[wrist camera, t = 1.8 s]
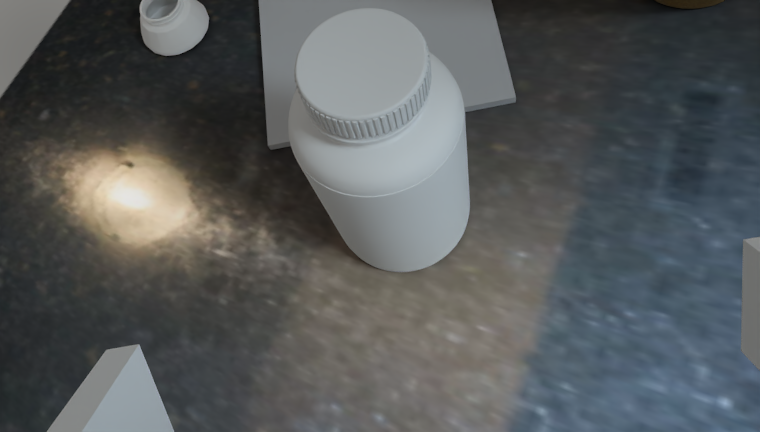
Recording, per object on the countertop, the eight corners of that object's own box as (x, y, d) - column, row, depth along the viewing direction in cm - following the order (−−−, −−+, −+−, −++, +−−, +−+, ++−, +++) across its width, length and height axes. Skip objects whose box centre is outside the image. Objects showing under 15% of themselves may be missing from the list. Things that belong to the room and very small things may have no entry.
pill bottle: (488, 171, 37) (489, -1, 24) (444, 293, 35) (418, 180, 21) (368, 139, 40) (305, -36, 26) (319, 251, 37) (222, 124, 23)
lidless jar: (167, -2, 47) (135, 50, 46) (147, -31, 44) (113, 24, 43) (222, 11, 46) (191, 65, 44) (205, -18, 43) (172, 39, 42)
